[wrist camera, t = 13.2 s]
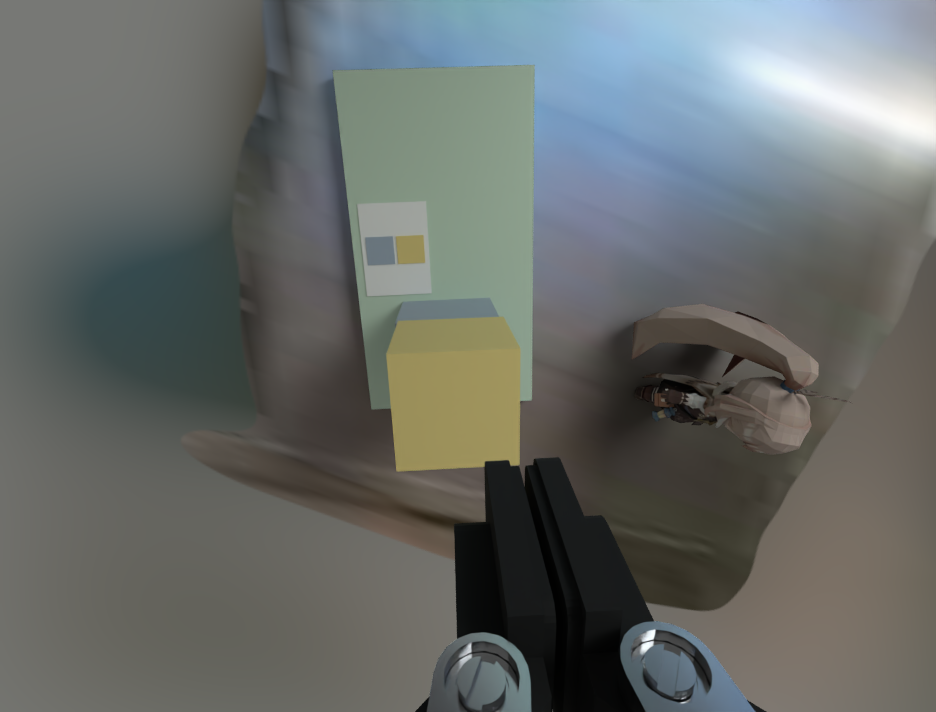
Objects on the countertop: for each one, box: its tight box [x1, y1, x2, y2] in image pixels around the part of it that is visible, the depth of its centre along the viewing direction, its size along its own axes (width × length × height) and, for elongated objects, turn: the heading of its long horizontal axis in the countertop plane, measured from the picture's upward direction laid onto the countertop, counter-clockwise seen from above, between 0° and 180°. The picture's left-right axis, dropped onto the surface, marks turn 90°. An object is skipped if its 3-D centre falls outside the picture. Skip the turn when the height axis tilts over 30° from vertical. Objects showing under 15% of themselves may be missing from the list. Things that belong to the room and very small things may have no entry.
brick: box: [386, 317, 521, 471], centre depth 24 cm, size 6×6×6 cm
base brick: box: [395, 298, 499, 328], centre depth 30 cm, size 6×6×6 cm
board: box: [333, 65, 535, 410], centre depth 32 cm, size 22×12×1 cm, turn 2°
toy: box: [632, 304, 851, 454], centre depth 29 cm, size 9×8×15 cm
